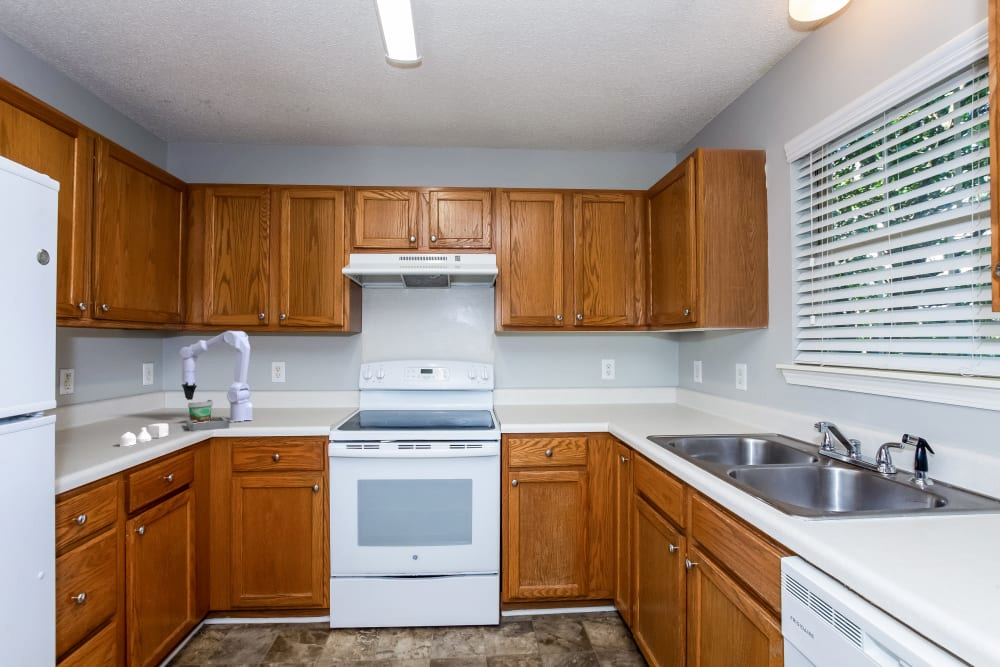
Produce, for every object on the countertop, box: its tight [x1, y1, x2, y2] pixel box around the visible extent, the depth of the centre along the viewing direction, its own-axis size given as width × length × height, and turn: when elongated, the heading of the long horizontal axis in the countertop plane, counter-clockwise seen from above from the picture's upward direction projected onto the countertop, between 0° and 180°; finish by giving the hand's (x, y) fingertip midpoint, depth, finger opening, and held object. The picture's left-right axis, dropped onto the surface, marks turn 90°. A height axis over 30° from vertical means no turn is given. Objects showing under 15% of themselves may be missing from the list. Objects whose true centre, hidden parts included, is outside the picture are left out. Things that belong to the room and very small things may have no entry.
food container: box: [187, 399, 214, 423], centre depth 230 cm, size 12×6×10 cm, turn 168°
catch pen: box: [185, 415, 230, 432], centre depth 218 cm, size 15×16×3 cm
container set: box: [119, 422, 169, 447], centre depth 188 cm, size 20×5×6 cm, turn 177°
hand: (188, 398), depth 236 cm, fingers open, 7 cm apart
